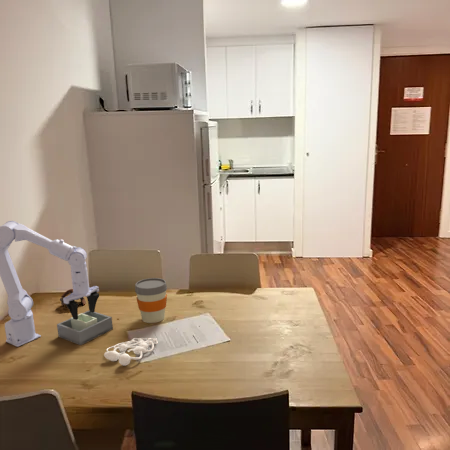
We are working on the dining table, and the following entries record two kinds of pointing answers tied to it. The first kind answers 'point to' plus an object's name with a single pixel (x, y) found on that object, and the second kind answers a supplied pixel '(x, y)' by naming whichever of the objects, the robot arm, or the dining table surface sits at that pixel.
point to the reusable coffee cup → (151, 299)
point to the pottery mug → (71, 293)
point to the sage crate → (83, 322)
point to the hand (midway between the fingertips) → (83, 315)
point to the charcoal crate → (88, 333)
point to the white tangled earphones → (138, 349)
